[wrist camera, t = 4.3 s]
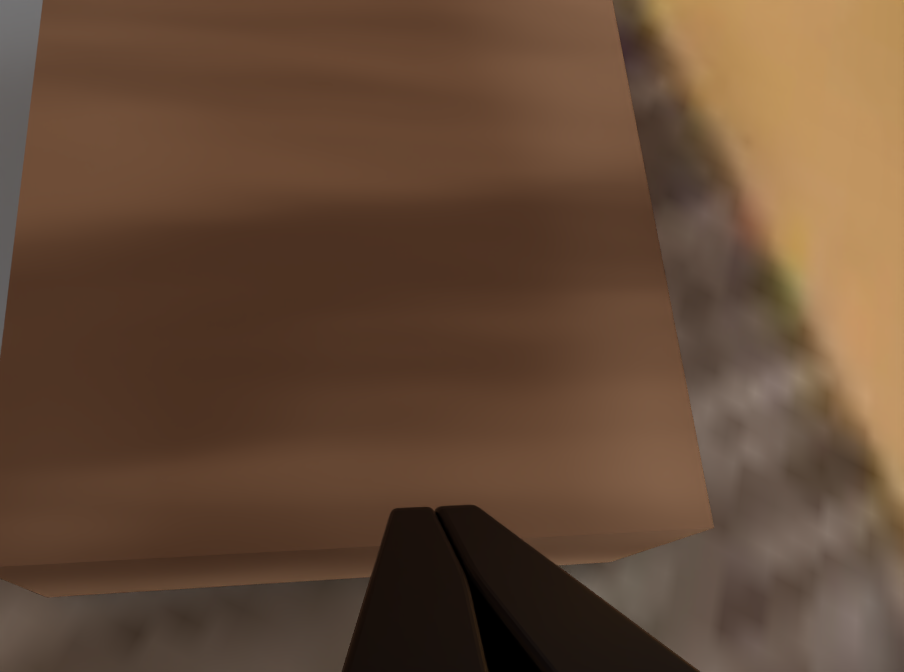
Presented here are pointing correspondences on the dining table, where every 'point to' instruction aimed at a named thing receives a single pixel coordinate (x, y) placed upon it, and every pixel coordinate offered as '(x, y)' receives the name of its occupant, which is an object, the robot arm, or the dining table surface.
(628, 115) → the walnut block
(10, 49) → the mat
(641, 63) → the dining table surface
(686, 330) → the dining table surface
